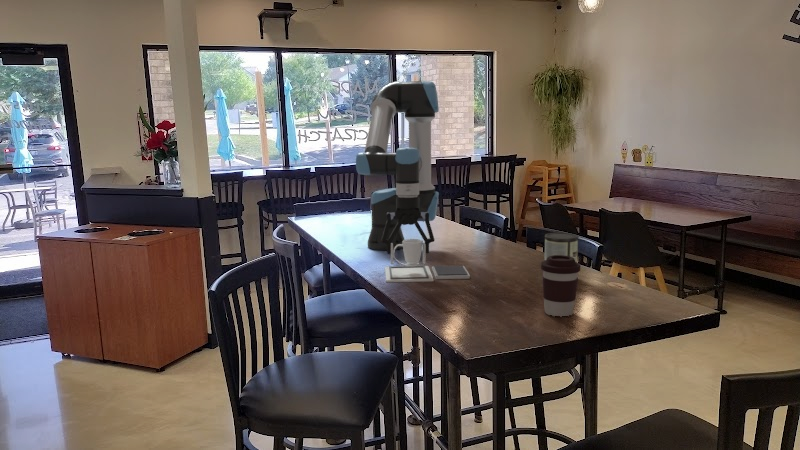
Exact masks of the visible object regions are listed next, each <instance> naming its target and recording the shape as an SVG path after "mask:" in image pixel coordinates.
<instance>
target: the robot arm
mask: <svg viewBox="0 0 800 450" xmlns="http://www.w3.org/2000/svg"><path fill="white" fill-rule="evenodd" d="M439 110H440V109H439V99H438V92H437V86H436V84H435V82H434V81H429V80H428V81H427V80H426V81H425V80H419V81H418V80H416V81H392V82H390V83H388V84H386V85H384V86H383V87H381V88H380V89H379V90H378V91H377V93H376V94H375V95H374V97H373V99H372V100H371V104H370V113H371V118H370V123H369V129H368V133H367V137H366V144H365V147H364V151H361V152H358V153H356V156H355V157H356V158H355V169H356V172H357V173H358V174H359V175H366V176H388V175H389V176H395V187H392V188H385V189H384V188H383V189H379V190H376V191H373V193H371V202H370V205H371V206H370V207H371V208H370V209H371V229H370V233H369V236H368V240H367V248H369V249H370V250H378V251H386V252H387V254H388V255H390V265H394V257H393V251H394V248H395V246H396V245H398V244H402V241H403V240H406V239H405V237H404V233H403V230H402V225H403V226H405V225H406V226H407V225H410V226H411V225H414V226H415V227H416V229H417V231H418V232H419V234H420V236H421V238H422V240H423V244H422V264H424V265H426V264H427V262H426V261H427V257H426V256H427V254H429V253H430V244H431V243H434V242H435V237H434V233H433V229H432V227H431V223H430V222H433V221H434V220H435V219H436V216H437V210H438V205H439V195H440V192H438V191H436V186H434V185H433V184H432V121H433V120H434V119H435V117H436V113H438V112H439ZM397 113H401V114H403V113H404V119H406V121H407V122H408V147H398V148H397V149H396V150H395V152H388V145H389V140H390V134H391V127H392V121H393V118H394V117H395V115H396V114H397ZM419 222H422V223H424V222H425V226H426V229H427V233H428V236H429V237H427V235H426V234H425V232H424V231H423V228H422V227H421V225H420V224H419ZM401 249H403V247H402V246H398V247H397V248H396V249H395V251H396V250H401Z"/></svg>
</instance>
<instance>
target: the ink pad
mask: <svg viewBox="0 0 800 450" xmlns="http://www.w3.org/2000/svg"><path fill="white" fill-rule="evenodd" d="M431 272H432V273H433V275H434V276H433V277H434V278H435V280H462V279H463V280H464V279H467V280H469V279H471V275H470V273H469V271H468V270H467V268H466V267H465V266H464V265H462V264H461V265H460V264H459V265H434V266H431Z"/></svg>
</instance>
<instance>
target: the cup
mask: <svg viewBox="0 0 800 450" xmlns="http://www.w3.org/2000/svg"><path fill="white" fill-rule="evenodd" d="M423 243H424V239H419V238H408V239H405V240H403V241H402V244H398V245H396V246H395V248H394V250H393V260H395V261H396V262H398V263H399V264H401V266H420V263H419V262H420V260H421V256H422V252H423ZM398 246H402V247H403V248H402V250H403V255H404V261H405V263H403V262H401V261H400V260H398V259H397V258H396V257H395V251H396V250H397V249H396V248H397V247H398ZM395 249H396V250H395Z"/></svg>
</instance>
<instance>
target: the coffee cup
mask: <svg viewBox="0 0 800 450" xmlns="http://www.w3.org/2000/svg"><path fill="white" fill-rule="evenodd" d="M540 269H541V270H542V271H543V272H542V297H543V304H544V313H545V314H546V315H548V316H550V315H552V316H551V317H555V316H560V317H559V318H563V317H562V316H568V317H570V316H569V315H571V316H572V315H573V314H574V310H575V309H574V308H575V300H576V298H577V290H578V283H579V282H578V281H579V279H578V273H580V272H581V264H580V263H579V262H578V261H577V262H575V259H574V258H573V257H570V256H565V255H552V256H549V257H547V259H546V261H544V260H543V261H541V263H540Z"/></svg>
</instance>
